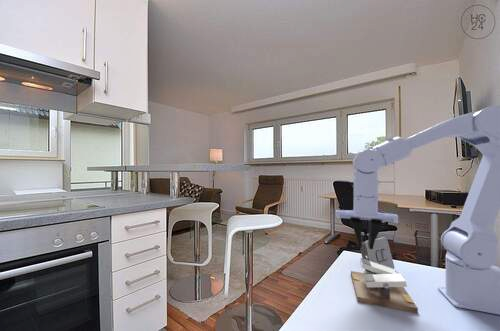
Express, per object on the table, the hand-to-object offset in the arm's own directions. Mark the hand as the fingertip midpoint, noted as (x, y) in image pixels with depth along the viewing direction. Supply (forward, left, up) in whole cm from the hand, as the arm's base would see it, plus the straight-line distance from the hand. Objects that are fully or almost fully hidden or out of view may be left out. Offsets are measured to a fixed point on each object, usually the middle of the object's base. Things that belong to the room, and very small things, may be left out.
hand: (364, 247), depth 57 cm
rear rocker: (-3, 0, -5) cm, 6 cm away
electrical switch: (-5, -10, -10) cm, 15 cm away
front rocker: (-3, +6, -5) cm, 9 cm away
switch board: (-3, +3, -9) cm, 10 cm away
